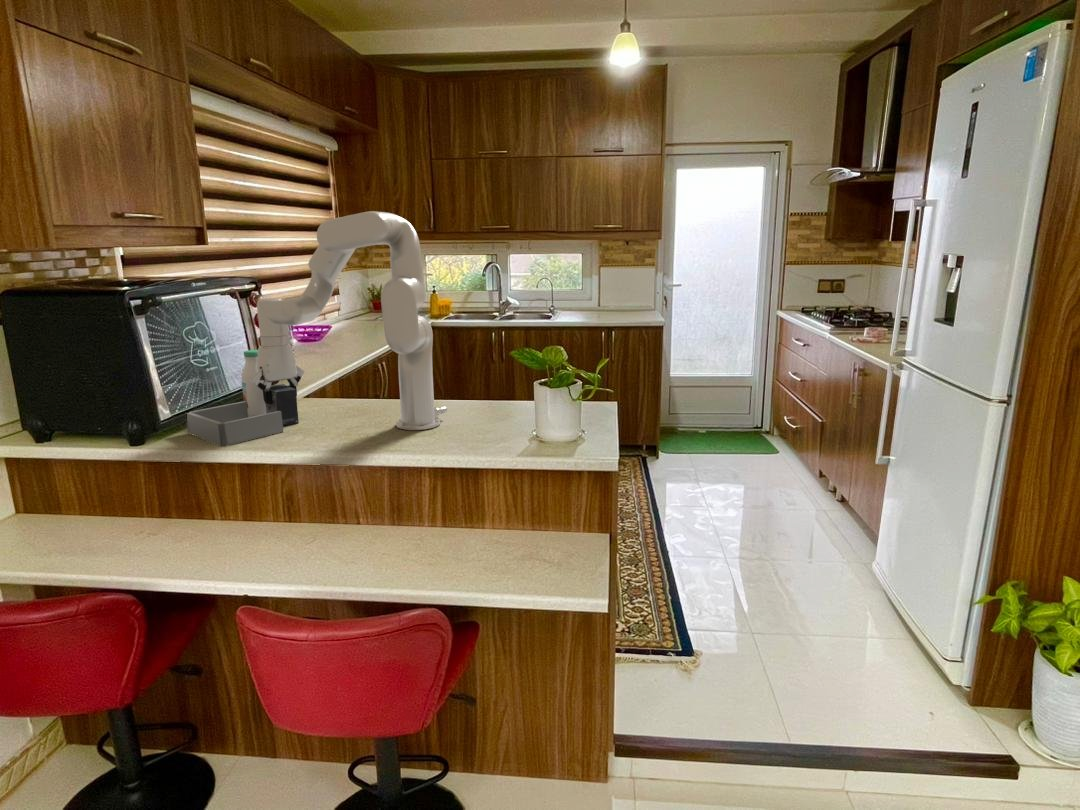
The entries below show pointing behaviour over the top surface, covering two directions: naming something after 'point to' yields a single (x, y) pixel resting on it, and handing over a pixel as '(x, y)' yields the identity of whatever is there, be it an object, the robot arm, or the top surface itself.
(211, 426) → the tray
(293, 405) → the small box
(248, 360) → the milk bottle
